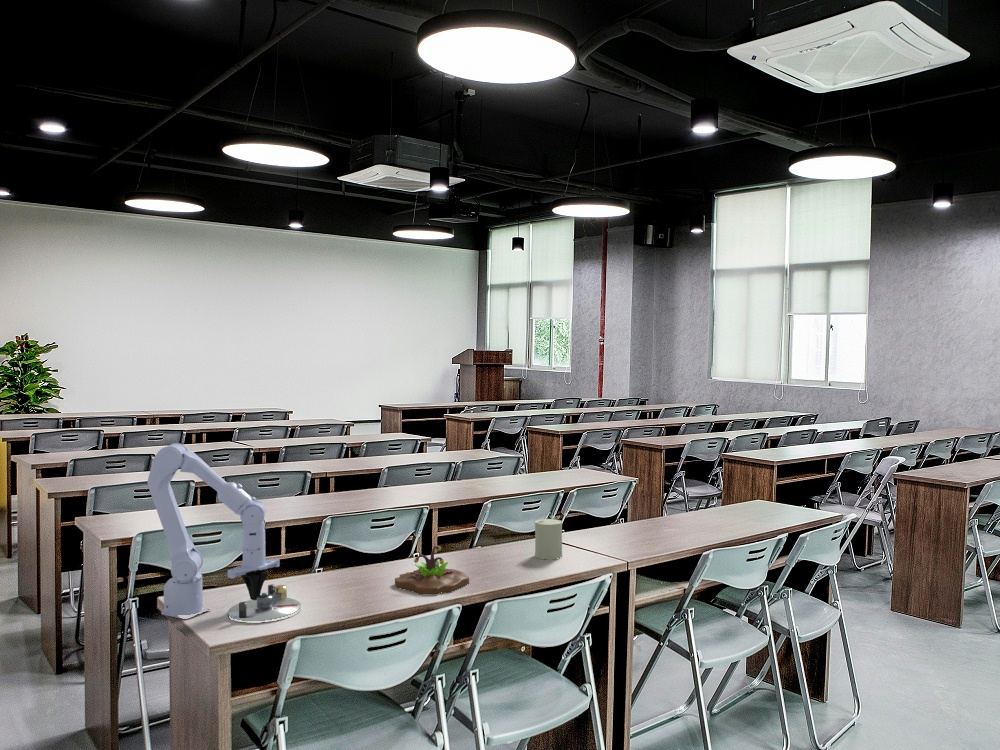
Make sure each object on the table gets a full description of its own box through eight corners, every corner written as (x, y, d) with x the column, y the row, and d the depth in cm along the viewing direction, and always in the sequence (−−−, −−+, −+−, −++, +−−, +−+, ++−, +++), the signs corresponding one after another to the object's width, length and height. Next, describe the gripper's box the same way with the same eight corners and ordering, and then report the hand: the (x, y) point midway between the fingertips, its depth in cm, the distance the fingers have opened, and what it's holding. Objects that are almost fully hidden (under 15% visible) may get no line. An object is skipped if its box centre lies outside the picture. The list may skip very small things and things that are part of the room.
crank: (266, 609, 194) (266, 597, 194) (253, 608, 195) (253, 595, 195) (290, 597, 204) (290, 585, 204) (277, 596, 205) (277, 584, 205)
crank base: (212, 616, 193) (212, 598, 193) (265, 597, 209) (265, 580, 209) (264, 628, 185) (264, 608, 184) (315, 606, 200) (314, 588, 200)
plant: (481, 583, 221) (480, 545, 221) (432, 599, 207) (431, 559, 207) (434, 571, 235) (434, 535, 235) (385, 585, 220) (385, 547, 220)
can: (530, 554, 254) (530, 518, 253) (556, 551, 256) (556, 516, 256) (540, 560, 245) (540, 524, 245) (566, 558, 248) (566, 522, 247)
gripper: (238, 555, 191) (239, 609, 191) (286, 544, 202) (287, 595, 203) (222, 551, 195) (223, 604, 196) (270, 541, 207) (271, 590, 207)
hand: (254, 599), depth 199 cm, fingers closed
